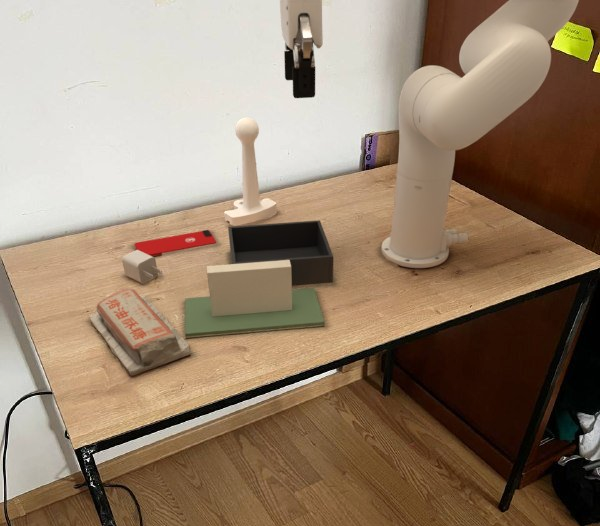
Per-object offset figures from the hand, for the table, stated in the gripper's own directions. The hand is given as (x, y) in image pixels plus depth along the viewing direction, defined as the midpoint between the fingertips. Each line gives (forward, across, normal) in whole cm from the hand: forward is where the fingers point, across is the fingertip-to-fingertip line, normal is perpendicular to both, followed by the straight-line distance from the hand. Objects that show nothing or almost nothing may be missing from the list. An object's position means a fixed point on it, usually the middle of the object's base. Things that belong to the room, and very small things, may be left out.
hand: (299, 88), depth 93 cm
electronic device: (+30, +12, +23) cm, 40 cm away
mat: (+30, -14, +10) cm, 35 cm away
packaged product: (+31, -18, +28) cm, 45 cm away
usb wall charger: (+31, 0, +28) cm, 41 cm away
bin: (+30, 0, +4) cm, 31 cm away
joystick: (+31, +23, +8) cm, 39 cm away
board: (+29, -14, +10) cm, 34 cm away
